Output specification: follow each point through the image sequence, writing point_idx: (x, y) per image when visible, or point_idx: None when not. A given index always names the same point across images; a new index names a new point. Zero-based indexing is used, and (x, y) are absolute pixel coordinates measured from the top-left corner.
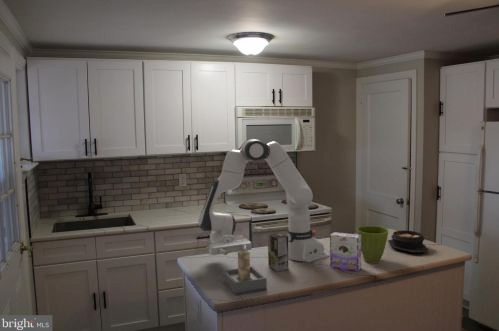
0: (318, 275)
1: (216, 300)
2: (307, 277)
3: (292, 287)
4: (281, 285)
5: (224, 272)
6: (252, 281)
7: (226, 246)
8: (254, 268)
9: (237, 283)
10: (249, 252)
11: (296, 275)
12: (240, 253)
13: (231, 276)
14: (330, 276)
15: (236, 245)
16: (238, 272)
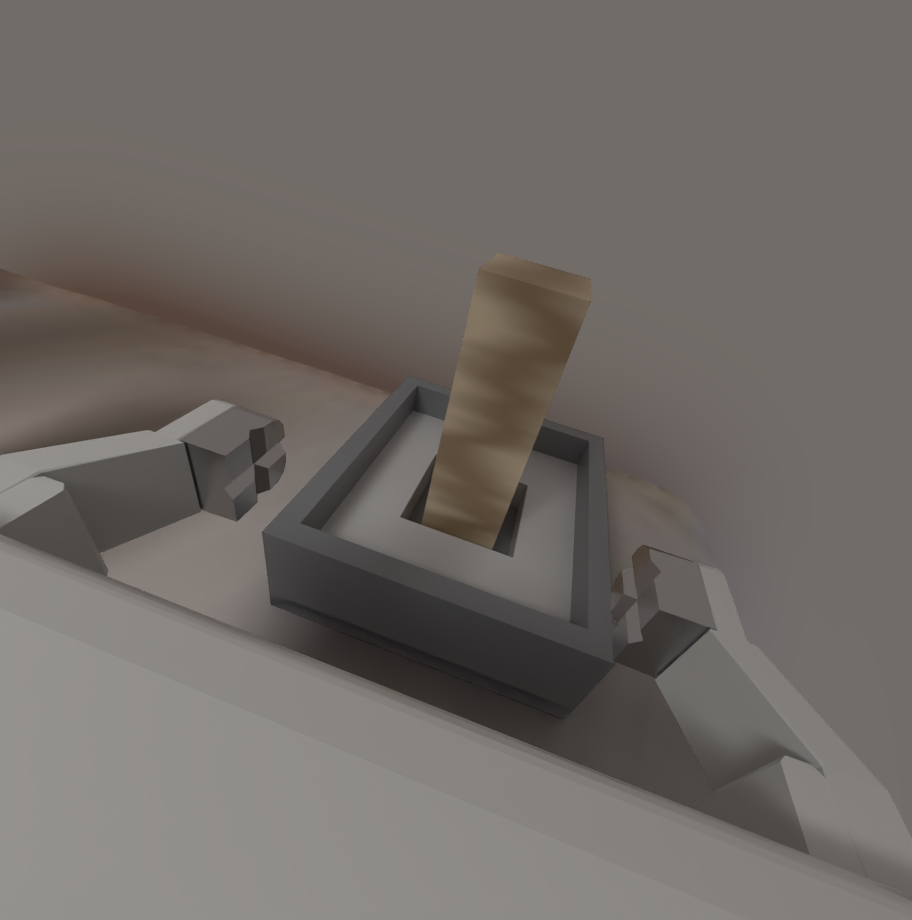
0: (23, 348)
1: (685, 518)
2: (90, 371)
3: (290, 379)
4: (299, 412)
5: (612, 617)
6: None
7: (614, 778)
8: (309, 486)
9: (588, 435)
10: (499, 253)
11: (70, 411)
12: (589, 282)
13: (530, 599)
14: (24, 319)
15: (181, 611)
16: (512, 497)
